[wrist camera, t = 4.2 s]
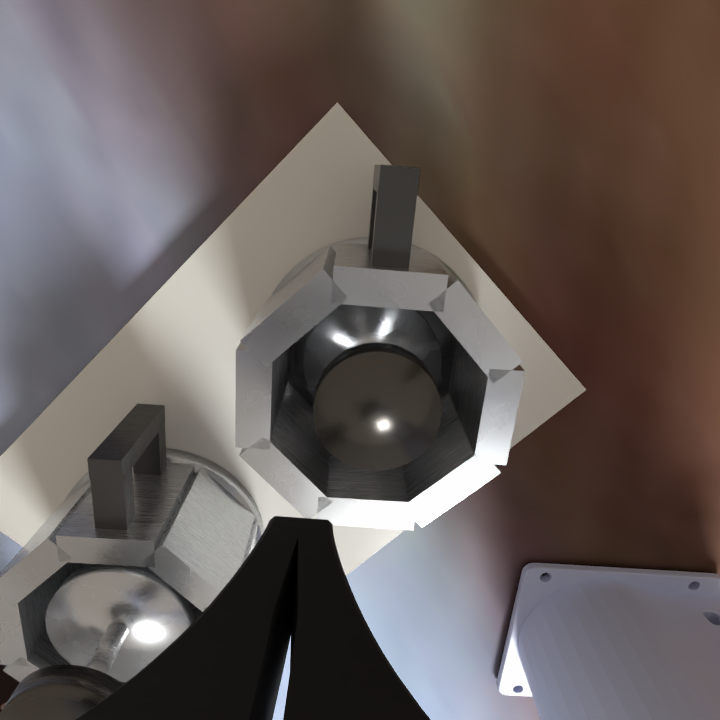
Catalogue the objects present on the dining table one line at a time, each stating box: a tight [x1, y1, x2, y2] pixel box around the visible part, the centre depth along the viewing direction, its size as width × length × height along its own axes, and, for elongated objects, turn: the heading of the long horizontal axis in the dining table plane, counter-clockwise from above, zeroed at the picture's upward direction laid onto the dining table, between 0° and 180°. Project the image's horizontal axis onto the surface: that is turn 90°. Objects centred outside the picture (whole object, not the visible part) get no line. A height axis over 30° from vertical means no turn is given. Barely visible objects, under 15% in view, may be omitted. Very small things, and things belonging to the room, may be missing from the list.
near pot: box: [235, 165, 525, 530], centre depth 17 cm, size 8×11×5 cm
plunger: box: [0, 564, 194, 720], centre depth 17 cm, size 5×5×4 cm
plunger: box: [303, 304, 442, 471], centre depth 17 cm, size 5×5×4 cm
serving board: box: [0, 102, 586, 575], centre depth 22 cm, size 22×14×1 cm, turn 133°
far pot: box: [0, 403, 264, 684], centre depth 20 cm, size 8×11×5 cm
